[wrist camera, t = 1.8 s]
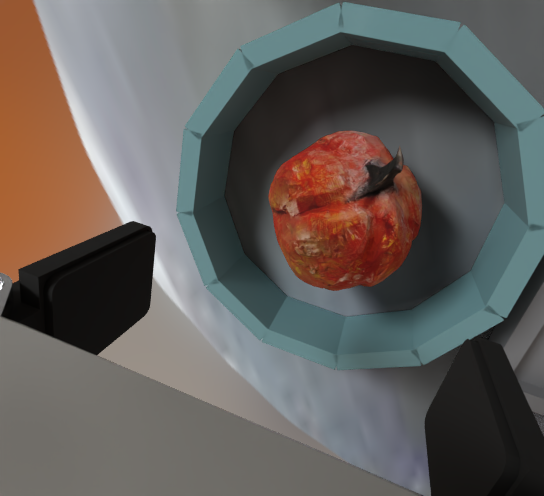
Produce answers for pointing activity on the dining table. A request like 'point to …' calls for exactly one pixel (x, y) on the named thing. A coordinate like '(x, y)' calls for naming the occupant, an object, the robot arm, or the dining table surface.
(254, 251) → the dining table surface
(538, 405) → the tray
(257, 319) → the teal polygonal ring
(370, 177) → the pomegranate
